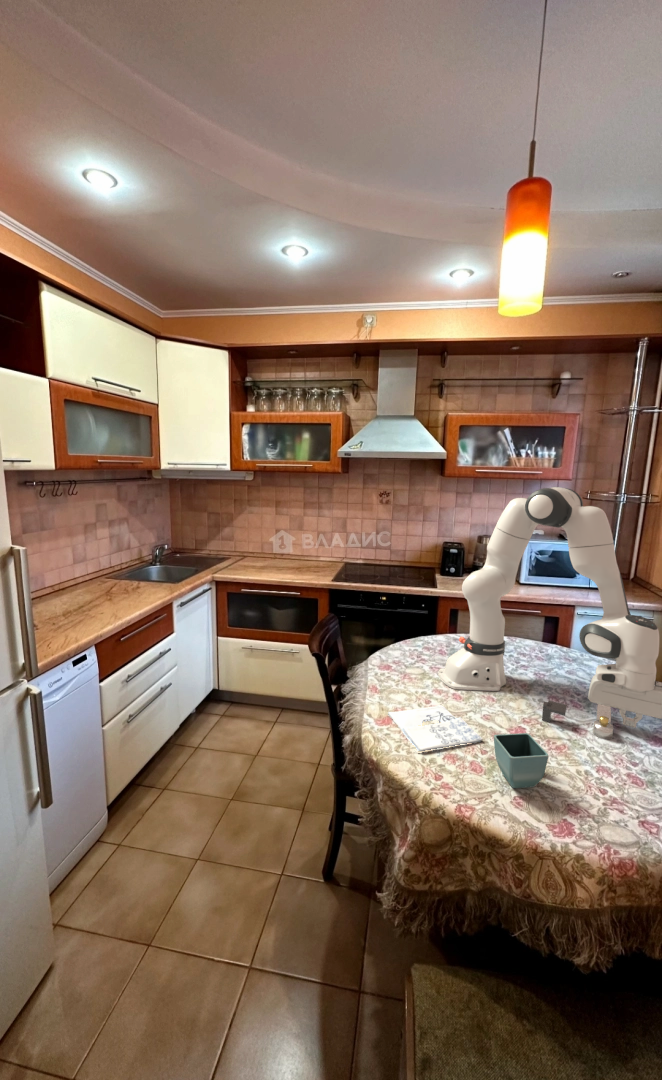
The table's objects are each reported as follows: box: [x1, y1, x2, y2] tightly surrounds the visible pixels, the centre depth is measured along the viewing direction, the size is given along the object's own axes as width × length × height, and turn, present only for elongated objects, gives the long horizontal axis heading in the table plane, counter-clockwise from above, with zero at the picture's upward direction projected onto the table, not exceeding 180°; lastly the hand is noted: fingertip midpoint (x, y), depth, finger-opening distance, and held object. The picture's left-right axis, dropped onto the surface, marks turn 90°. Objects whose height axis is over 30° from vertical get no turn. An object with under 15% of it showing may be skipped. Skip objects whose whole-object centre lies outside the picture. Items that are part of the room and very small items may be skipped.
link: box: [592, 704, 614, 740], centre depth 120 cm, size 14×4×3 cm, turn 148°
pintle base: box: [541, 700, 609, 726], centre depth 120 cm, size 18×19×6 cm
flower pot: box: [493, 732, 550, 789], centre depth 99 cm, size 9×9×9 cm
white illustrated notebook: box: [387, 704, 484, 751], centre depth 121 cm, size 19×20×2 cm
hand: (629, 725), depth 118 cm, fingers closed
